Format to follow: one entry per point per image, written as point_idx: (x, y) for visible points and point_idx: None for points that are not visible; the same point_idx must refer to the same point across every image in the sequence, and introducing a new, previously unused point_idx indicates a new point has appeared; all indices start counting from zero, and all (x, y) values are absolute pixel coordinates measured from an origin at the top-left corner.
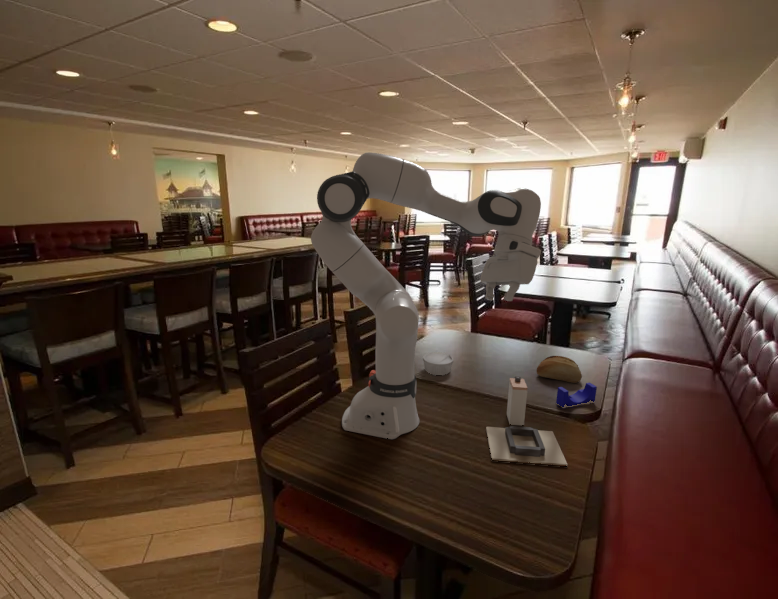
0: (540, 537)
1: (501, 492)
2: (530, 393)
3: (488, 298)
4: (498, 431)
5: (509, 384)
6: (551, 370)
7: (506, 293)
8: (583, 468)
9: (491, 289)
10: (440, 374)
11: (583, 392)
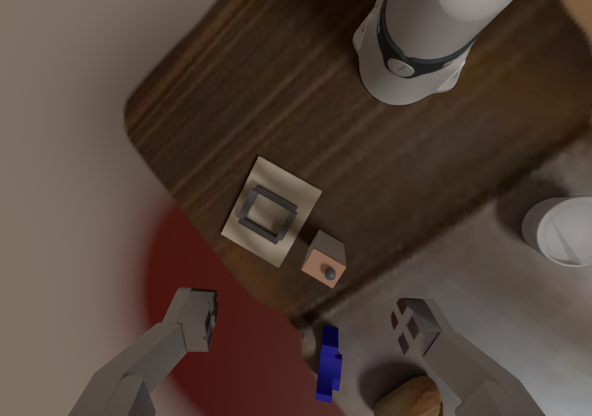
0: (154, 134)
1: (211, 134)
2: (381, 319)
3: (401, 301)
4: (305, 200)
5: (343, 261)
6: (404, 394)
7: (183, 317)
8: (215, 247)
9: (462, 385)
10: (524, 217)
11: (329, 378)
